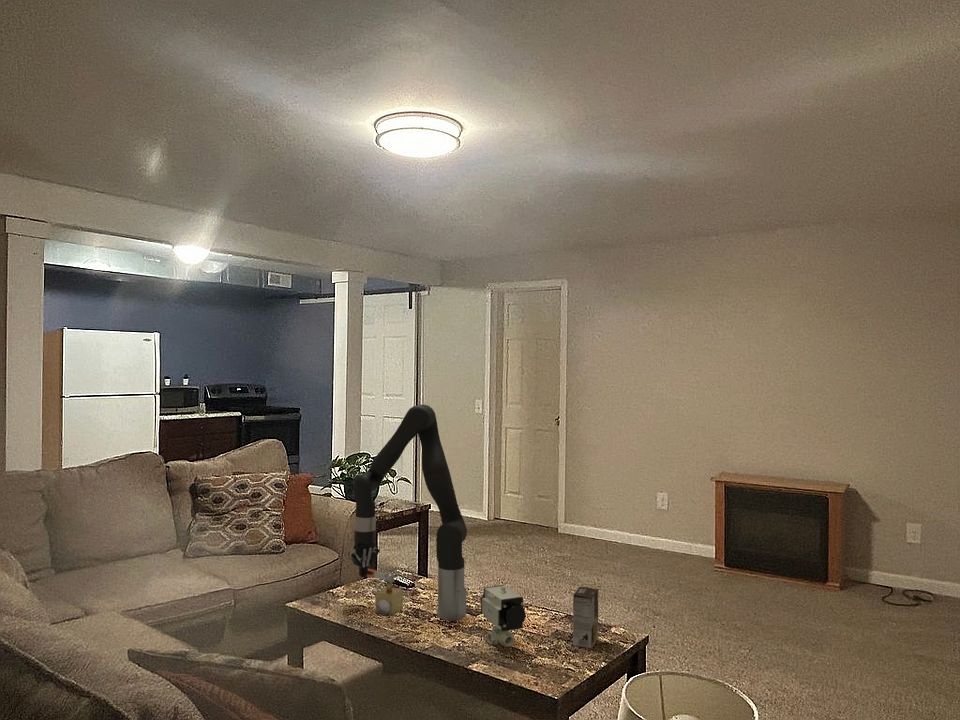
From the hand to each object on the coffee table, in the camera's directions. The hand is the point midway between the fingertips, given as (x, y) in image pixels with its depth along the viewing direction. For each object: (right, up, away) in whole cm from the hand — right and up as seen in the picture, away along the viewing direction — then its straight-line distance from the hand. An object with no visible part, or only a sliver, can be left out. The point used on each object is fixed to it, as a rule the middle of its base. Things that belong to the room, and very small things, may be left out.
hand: (363, 576), depth 256 cm
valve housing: (+10, -11, -3) cm, 15 cm away
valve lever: (+5, -1, 0) cm, 5 cm away
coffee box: (+76, -12, -29) cm, 82 cm away
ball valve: (+49, -12, -31) cm, 59 cm away
